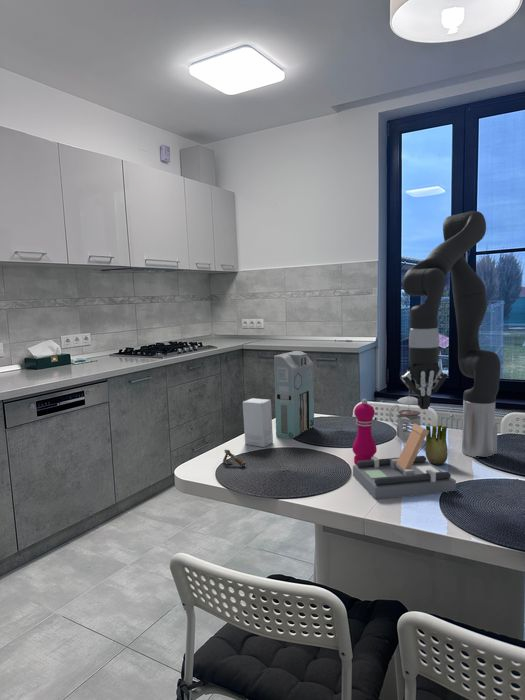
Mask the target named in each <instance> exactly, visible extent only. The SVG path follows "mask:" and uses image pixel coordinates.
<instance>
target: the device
mask: <svg viewBox="0 0 525 700" xmlns="http://www.w3.org/2000/svg"><path fill="white" fill-rule="evenodd" d="M273 357H274V362H273V363H274V402H275V405H274V406H275V412H274V413H275V436H276V437H281V438H287V439H295V438H296V437H299V436H300V435H301V434H300V433H302V432H303V431H305V430H307V429H309V430H311V429H313V428H314V427H315V396H314V395H315V390H314V389H315V382H314V381H315V379H314V375H315V374H314V372H315V371H314V368H315V367H314V366H315V365H314V363H313V361H312V360H311V359H310V357H309V356H308V353H305V352H304V351H301V350H293V351H290V352H284V353H281V354H277V355H274V356H273ZM312 427H313V428H312ZM310 428H311V429H310ZM307 431H308V430H307ZM305 432H306V431H305ZM299 434H300V435H299ZM302 434H303V433H302Z"/></svg>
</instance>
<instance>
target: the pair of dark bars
mask: <svg viewBox="0 0 525 700" xmlns="http://www.w3.org/2000/svg"><path fill="white" fill-rule="evenodd" d="M391 459H399V457H390V458H378V457H376V456H374V457H371V460H363V461H358V462H357V464H356V465H357V466H358V467H371V466H374V467H375V468H377V467H379V466H383V465H390V464H391ZM425 461H427V457H426V455H417V456H416V458H415V460H414V462H413V463H418V462H425ZM450 477H451V478H452V474H451V473H450V472H449V471H443V472H437V473H434V472H433V471H432V470H426V473H425V474H414V475H403V476H391V477H380V478H376V479H375V484H376V485H384V484H395V483H406V482H417V481H428V480H429V481H431V482H436V480H439V479H449V478H450Z"/></svg>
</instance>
